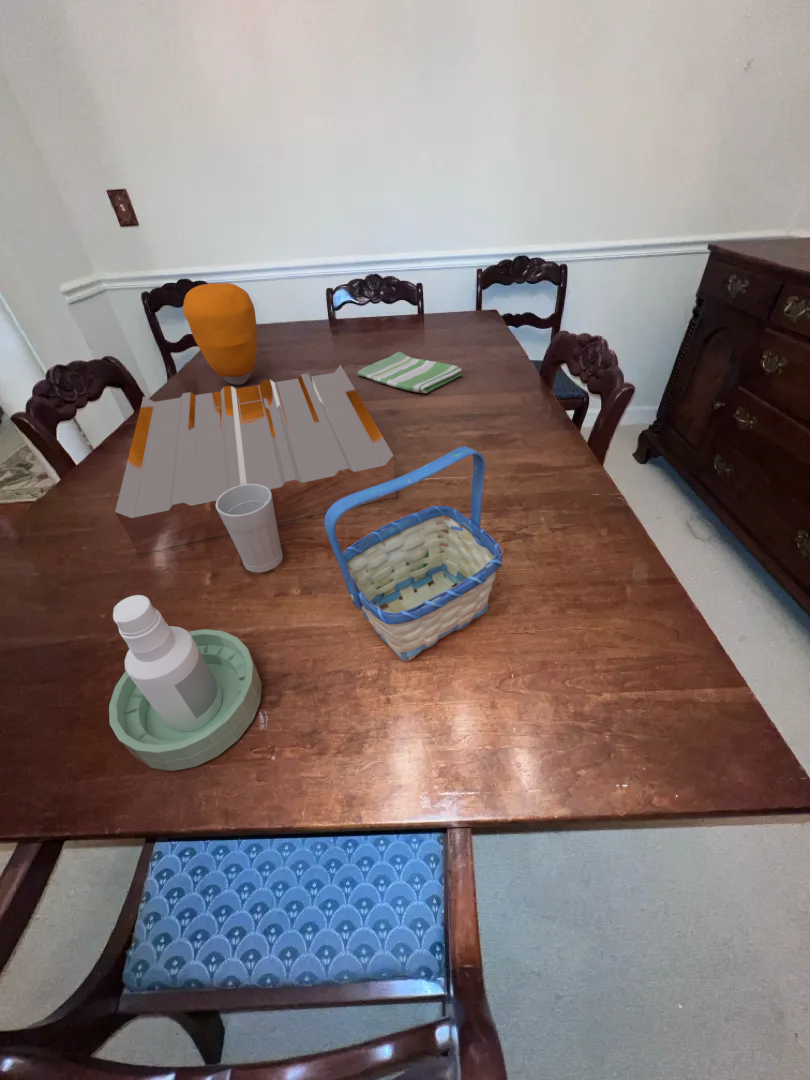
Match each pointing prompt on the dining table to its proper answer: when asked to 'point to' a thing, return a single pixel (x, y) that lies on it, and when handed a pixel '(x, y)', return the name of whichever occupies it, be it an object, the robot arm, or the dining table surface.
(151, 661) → the white bottle
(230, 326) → the orange egg-shaped ornament
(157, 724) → the bowl
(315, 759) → the dining table surface
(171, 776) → the dining table surface
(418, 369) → the dish towel
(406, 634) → the basket
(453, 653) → the dining table surface
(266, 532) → the cup
